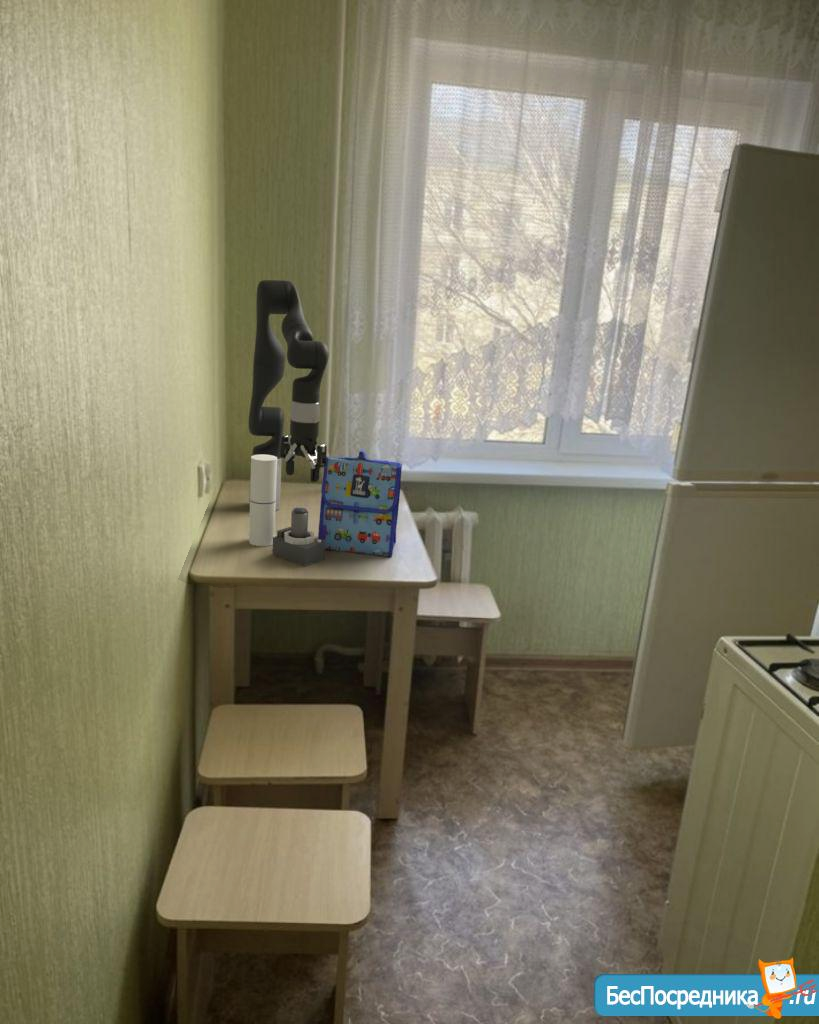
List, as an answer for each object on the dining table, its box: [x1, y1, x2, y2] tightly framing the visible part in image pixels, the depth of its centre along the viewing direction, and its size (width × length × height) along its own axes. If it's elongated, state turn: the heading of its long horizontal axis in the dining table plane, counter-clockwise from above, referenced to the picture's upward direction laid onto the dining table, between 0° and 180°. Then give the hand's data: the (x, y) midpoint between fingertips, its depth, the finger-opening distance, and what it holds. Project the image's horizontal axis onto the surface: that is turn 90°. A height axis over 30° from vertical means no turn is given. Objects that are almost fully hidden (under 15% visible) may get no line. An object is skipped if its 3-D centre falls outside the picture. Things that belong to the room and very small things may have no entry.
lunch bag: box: [317, 449, 403, 557], centre depth 218 cm, size 22×14×29 cm, turn 87°
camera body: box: [271, 526, 326, 567], centre depth 209 cm, size 12×8×7 cm, turn 56°
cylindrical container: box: [248, 454, 277, 547], centre depth 215 cm, size 7×7×25 cm
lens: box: [290, 507, 309, 538], centre depth 208 cm, size 4×4×9 cm
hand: (302, 478), depth 204 cm, fingers open, 8 cm apart
